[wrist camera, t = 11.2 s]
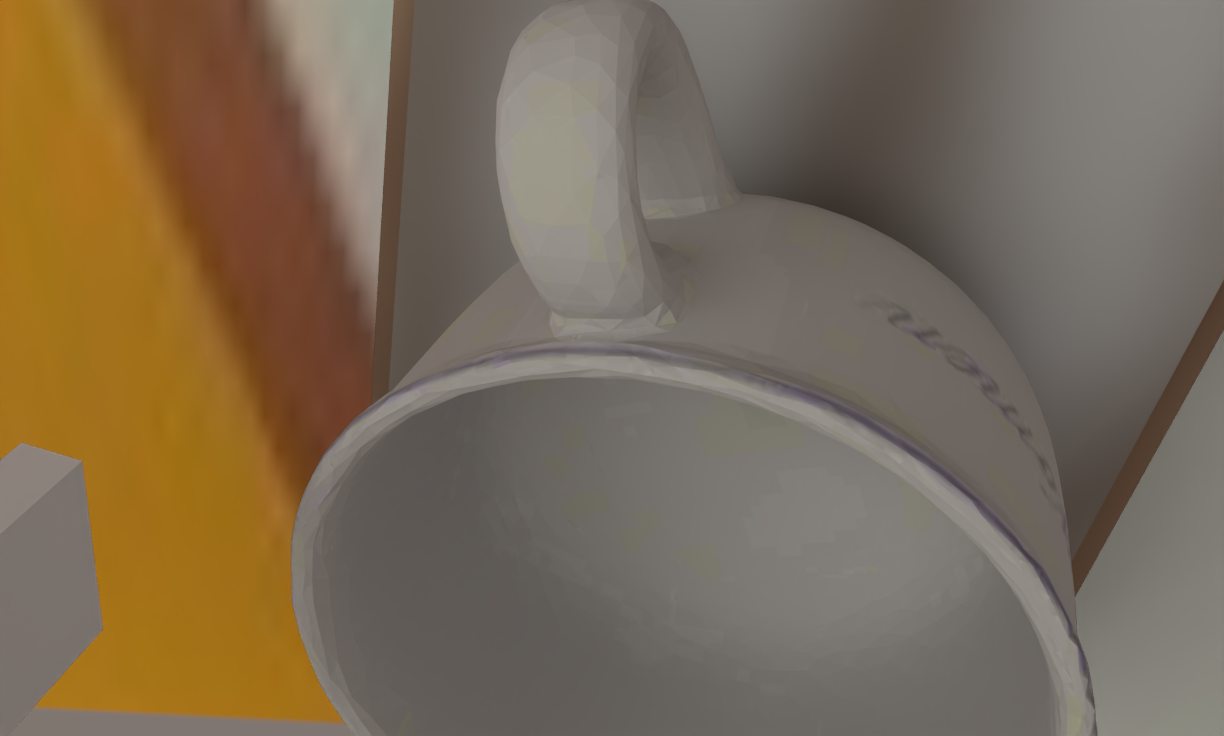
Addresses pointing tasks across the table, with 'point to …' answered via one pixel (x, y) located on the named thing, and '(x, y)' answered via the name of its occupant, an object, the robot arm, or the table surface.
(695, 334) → the teacup
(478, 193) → the walnut riser
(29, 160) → the table surface
